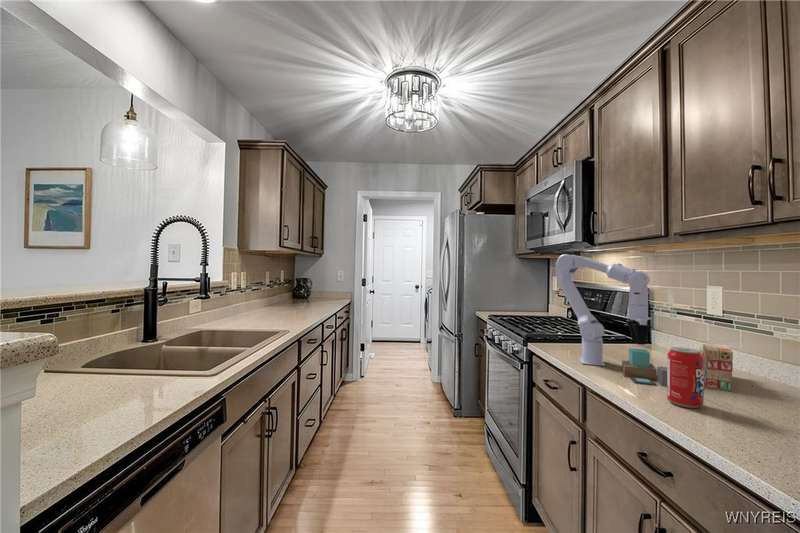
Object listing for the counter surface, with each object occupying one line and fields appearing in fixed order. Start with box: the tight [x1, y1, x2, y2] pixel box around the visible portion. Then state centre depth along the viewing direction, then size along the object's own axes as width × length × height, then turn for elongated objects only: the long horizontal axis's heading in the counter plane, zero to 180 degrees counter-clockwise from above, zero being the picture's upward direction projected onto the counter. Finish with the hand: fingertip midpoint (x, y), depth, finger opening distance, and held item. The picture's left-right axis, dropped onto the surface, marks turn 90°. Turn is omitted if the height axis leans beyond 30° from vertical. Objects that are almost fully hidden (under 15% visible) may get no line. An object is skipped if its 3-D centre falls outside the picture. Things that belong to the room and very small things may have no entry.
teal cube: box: [628, 347, 651, 367], centre depth 126 cm, size 5×5×5 cm
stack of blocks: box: [699, 342, 734, 392], centre depth 120 cm, size 21×6×12 cm, turn 144°
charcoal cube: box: [656, 366, 667, 387], centre depth 116 cm, size 5×5×5 cm
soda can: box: [666, 346, 705, 409], centre depth 99 cm, size 8×8×15 cm
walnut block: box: [621, 359, 657, 382], centre depth 126 cm, size 9×9×4 cm
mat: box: [629, 377, 658, 387], centre depth 118 cm, size 6×6×1 cm
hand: (638, 342), depth 131 cm, fingers open, 7 cm apart
